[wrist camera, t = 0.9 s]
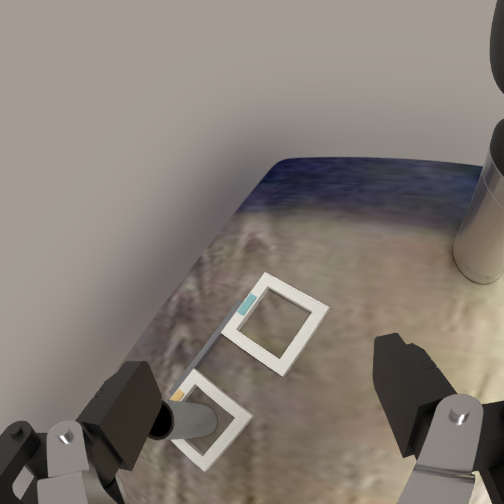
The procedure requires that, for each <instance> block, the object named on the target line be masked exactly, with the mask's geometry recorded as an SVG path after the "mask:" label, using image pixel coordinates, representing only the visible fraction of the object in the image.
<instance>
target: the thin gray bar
mask: <svg viewBox="0 0 504 504" xmlns="http://www.w3.org/2000/svg"><path fill="white" fill-rule="evenodd" d="M242 303H243V302H242V301H240V300H238V301H237V302H236V304H235V305H234V306H233V308H232V309H231V310H230V312H229V313H228V314H227V316H226V317H225V318H224V320H223V321H222V322H221V324H220V325H219V326H218V328H217V329H216V330H215V332H214V333H213V334H212V336H211V337H210V338H209V340H208V341H207V342H206V344H205V345H204V346H203V348H202V349H201V350H200V352H199V353H198V354H197V356H196V357H195V358H194V360H193V361H192V362H191V364H190V365H189V366H188V368H187V369H186V370H185V372H184V373H183V374H182V375H181V377H180V378H179V379H178V381H177V382H176V383H175V385H174V386H173V387H172V389H171V390H170V391H169V393H170V394H171V395H172V396H173V395H174V393H175V392H176V391H177V389H178V388H179V387H180V385H181V384H182V383H183V382H184V380H185V379H186V378H187V376H188V375H189V374H190V372H191V371H192V370H193V368H194V369H197V368H198V367H199V365H200V364H201V363H202V361H203V360H204V359H205V357H206V356H207V355H208V353H209V352H210V351H211V350H212V348H213V347H214V346H215V344H216V343H217V342H218V340H219V339H220V338H221V336H222V335H223V334H222V333H221V331H222V330H223V329H224V327H225V326H226V325H227V323H228V322H229V321H230V319H231V318H232V317H233V315H234V314H235V313H236V311H237V310H238V308H239V307H240V306H241V304H242Z"/></svg>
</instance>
